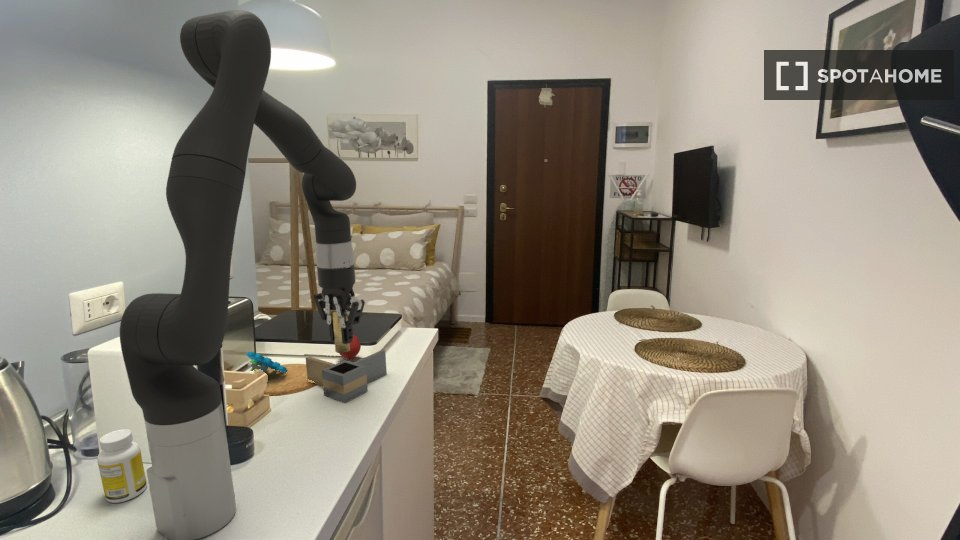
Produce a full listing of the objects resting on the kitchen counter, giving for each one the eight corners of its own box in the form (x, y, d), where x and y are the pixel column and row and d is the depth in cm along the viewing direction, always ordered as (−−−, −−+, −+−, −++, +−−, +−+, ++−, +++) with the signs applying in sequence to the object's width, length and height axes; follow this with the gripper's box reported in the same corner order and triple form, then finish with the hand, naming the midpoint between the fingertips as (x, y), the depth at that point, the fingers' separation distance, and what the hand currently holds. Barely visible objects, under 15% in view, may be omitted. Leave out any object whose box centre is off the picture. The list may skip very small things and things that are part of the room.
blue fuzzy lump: (296, 370, 120) (263, 350, 114) (283, 393, 118) (248, 374, 111) (273, 365, 127) (240, 346, 121) (260, 387, 125) (225, 369, 118)
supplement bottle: (140, 477, 82) (130, 422, 80) (152, 490, 79) (142, 433, 77) (100, 494, 78) (89, 437, 76) (111, 509, 75) (100, 449, 73)
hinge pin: (342, 353, 107) (338, 313, 105) (332, 351, 109) (329, 311, 107) (352, 349, 110) (349, 309, 108) (343, 346, 111) (340, 307, 109)
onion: (336, 358, 132) (334, 328, 130) (358, 354, 134) (356, 325, 132) (340, 366, 127) (338, 335, 125) (363, 361, 129) (361, 332, 127)
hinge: (344, 403, 107) (342, 376, 106) (297, 386, 115) (295, 361, 114) (395, 376, 120) (394, 352, 118) (349, 363, 128) (347, 341, 127)
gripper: (298, 263, 106) (306, 341, 110) (345, 270, 98) (351, 353, 102) (327, 257, 112) (333, 331, 116) (372, 263, 104) (377, 342, 108)
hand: (341, 341), depth 109 cm, fingers closed on hinge pin, 3 cm apart
